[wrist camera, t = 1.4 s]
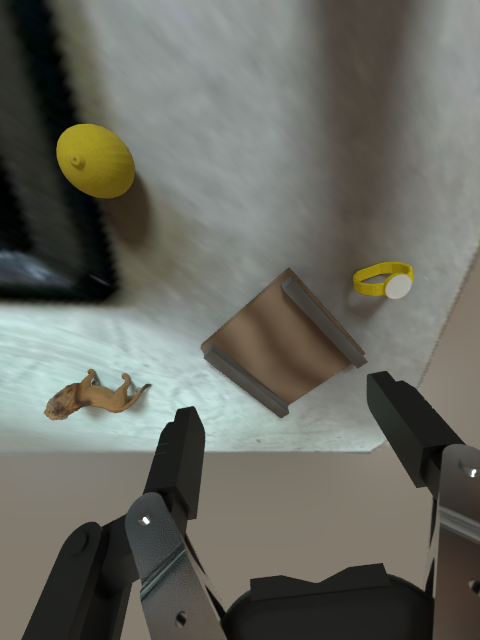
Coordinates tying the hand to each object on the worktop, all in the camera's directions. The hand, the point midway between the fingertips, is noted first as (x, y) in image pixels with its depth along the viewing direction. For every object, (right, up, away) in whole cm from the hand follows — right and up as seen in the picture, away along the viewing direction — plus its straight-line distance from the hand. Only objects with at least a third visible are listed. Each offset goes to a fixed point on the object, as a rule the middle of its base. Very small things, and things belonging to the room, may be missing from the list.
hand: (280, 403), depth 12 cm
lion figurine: (-21, -5, +27) cm, 35 cm away
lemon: (-14, +20, +14) cm, 28 cm away
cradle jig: (+4, 0, +25) cm, 25 cm away
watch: (+14, +10, +20) cm, 27 cm away
